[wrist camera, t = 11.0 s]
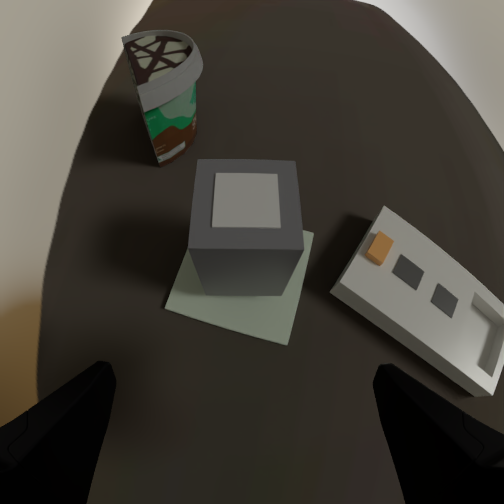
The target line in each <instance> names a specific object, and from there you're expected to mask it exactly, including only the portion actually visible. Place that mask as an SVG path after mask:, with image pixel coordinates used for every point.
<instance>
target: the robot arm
mask: <svg viewBox="0 0 504 504" xmlns="http://www.w3.org/2000/svg"><path fill="white" fill-rule="evenodd" d="M115 389H116V378H115V375H114V372H113V369H112V366H111V364H110V363H109V362H105V361H97V362H96V363H94V364H93V365H92V366H90V367H89V368H87V369H86V370H84V371H83V372H82V373H80V374H79V375H77V376H76V377H74V378H73V379H71V380H70V381H69V382H67V383H66V384H64V385H63V386H61V387H60V388H59V389H57V390H56V391H54V392H53V393H51V394H50V395H49V396H47V397H46V398H44V399H43V400H41V401H40V402H38V403H37V404H36V405H34V406H33V407H31V408H30V409H29V410H28V411H25V412H24V413H23V414H21V415H20V416H18V417H17V418H15V419H14V420H12V421H11V422H9V423H7V424H5V425H4V426H2V427H0V504H86V503H87V499H88V495H89V491H90V487H91V483H92V479H93V475H94V471H95V468H96V464H97V461H98V457H99V453H100V450H101V447H102V443H103V440H104V436H105V433H106V430H107V427H108V423H109V419H110V414H111V409H112V404H113V399H114V394H115ZM373 389H374V394H375V398H376V403H377V407H378V412H379V417H380V421H381V424H382V428H383V431H384V434H385V437H386V440H387V443H388V446H389V449H390V452H391V456H392V459H393V462H394V465H395V469H396V472H397V475H398V479H399V482H400V486H401V489H402V493H403V496H404V500H405V504H504V434H502V433H500V432H498V431H496V430H494V429H492V428H490V427H488V426H487V425H485V424H483V423H481V422H480V421H478V420H476V419H475V418H473V417H472V416H470V415H468V414H467V413H465V412H464V411H462V410H461V409H459V408H458V407H456V406H455V405H453V404H452V403H450V402H449V401H447V400H446V399H444V398H443V397H441V396H440V395H438V394H437V393H435V392H434V391H432V390H431V389H429V388H428V387H426V386H425V385H423V384H422V383H420V382H419V381H417V380H416V379H414V378H413V377H412V376H410V375H409V374H407V373H406V372H404V371H403V370H401V369H400V368H398V367H397V366H395V365H394V364H392V363H384V364H380V365H379V367H378V369H377V372H376V375H375V377H374V380H373Z"/></svg>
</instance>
